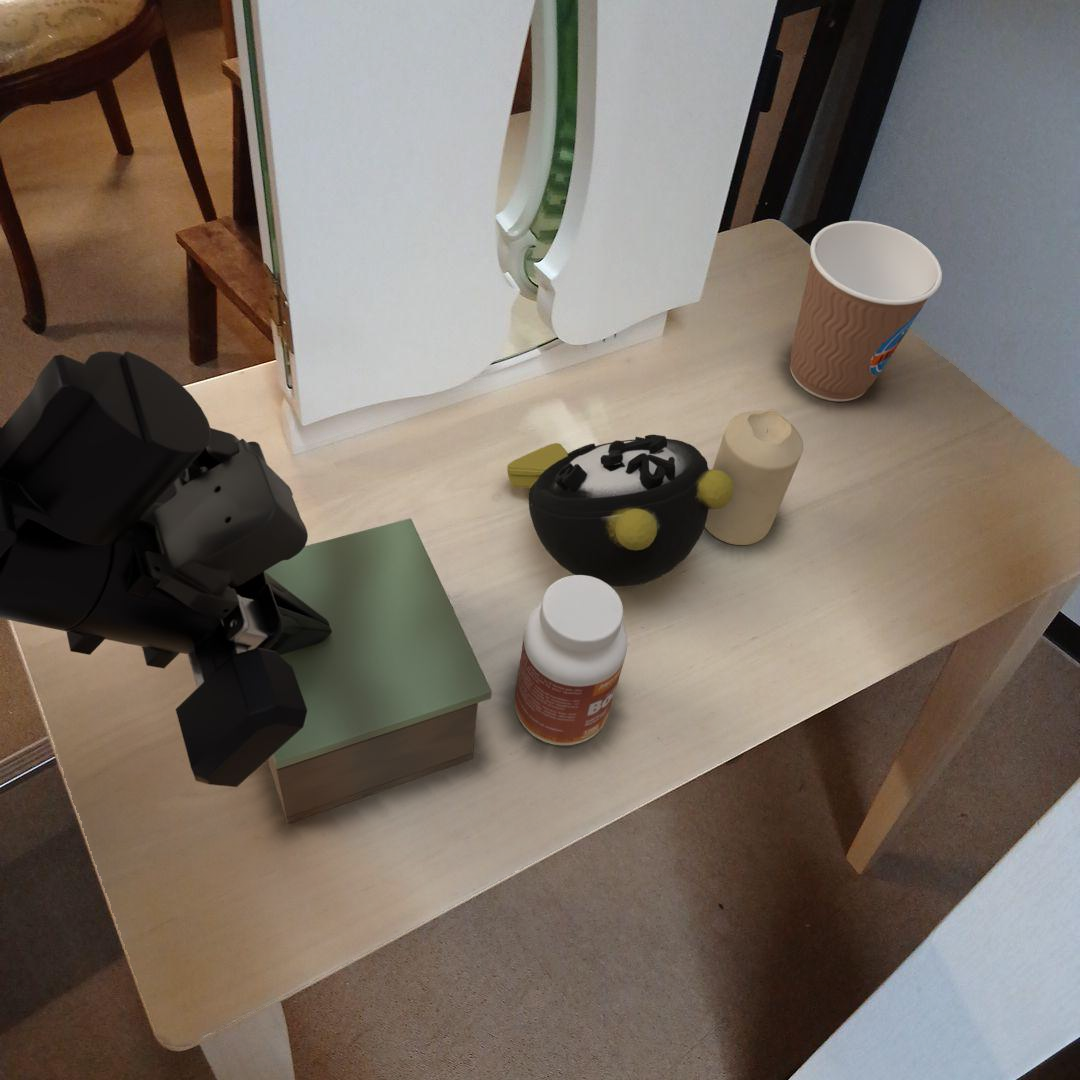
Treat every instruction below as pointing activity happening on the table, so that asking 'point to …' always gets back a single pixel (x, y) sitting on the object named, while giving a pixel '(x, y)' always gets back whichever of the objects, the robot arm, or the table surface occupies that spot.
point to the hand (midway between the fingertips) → (325, 632)
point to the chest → (375, 763)
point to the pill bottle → (571, 661)
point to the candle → (754, 474)
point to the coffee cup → (858, 305)
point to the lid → (375, 641)
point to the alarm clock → (620, 505)
